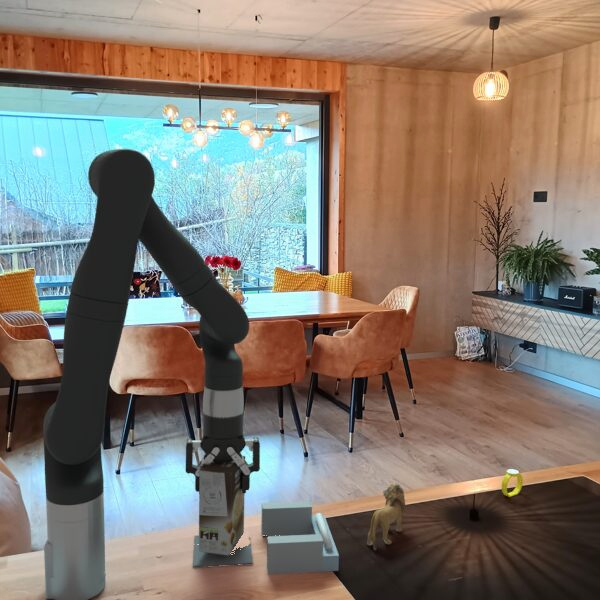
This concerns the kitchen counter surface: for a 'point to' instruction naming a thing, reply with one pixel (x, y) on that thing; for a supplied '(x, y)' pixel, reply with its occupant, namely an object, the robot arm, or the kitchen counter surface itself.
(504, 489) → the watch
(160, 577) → the kitchen counter surface
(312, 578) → the kitchen counter surface
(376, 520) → the lion figurine
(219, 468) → the coffee box
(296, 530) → the vise
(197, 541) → the mat
